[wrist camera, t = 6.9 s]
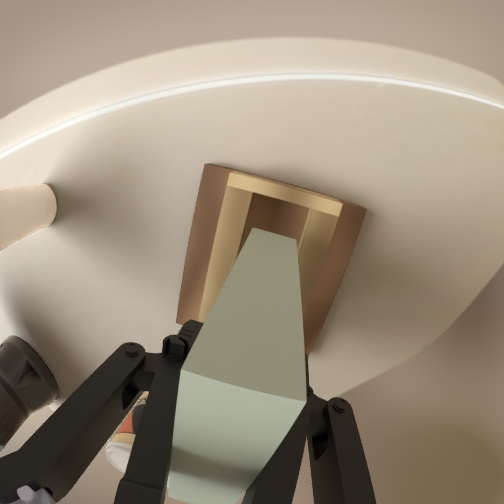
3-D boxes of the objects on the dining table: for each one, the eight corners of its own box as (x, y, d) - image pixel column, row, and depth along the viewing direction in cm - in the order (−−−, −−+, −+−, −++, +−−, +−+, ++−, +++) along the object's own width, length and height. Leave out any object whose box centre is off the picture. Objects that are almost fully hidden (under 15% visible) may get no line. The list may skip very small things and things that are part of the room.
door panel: (222, 343, 23) (168, 496, 9) (252, 227, 19) (181, 369, 6) (258, 353, 22) (228, 512, 9) (296, 239, 19) (306, 401, 6)
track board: (179, 317, 29) (167, 336, 26) (208, 163, 24) (195, 164, 21) (306, 352, 29) (308, 375, 25) (363, 207, 24) (375, 214, 20)
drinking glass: (34, 232, 29) (-53, 273, 15) (27, 181, 27) (-66, 206, 13) (66, 229, 28) (-33, 277, 14) (59, 172, 26) (-49, 196, 12)
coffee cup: (167, 374, 32) (129, 445, 21) (215, 417, 34) (193, 488, 23) (127, 391, 35) (91, 450, 24) (171, 430, 37) (146, 489, 25)
